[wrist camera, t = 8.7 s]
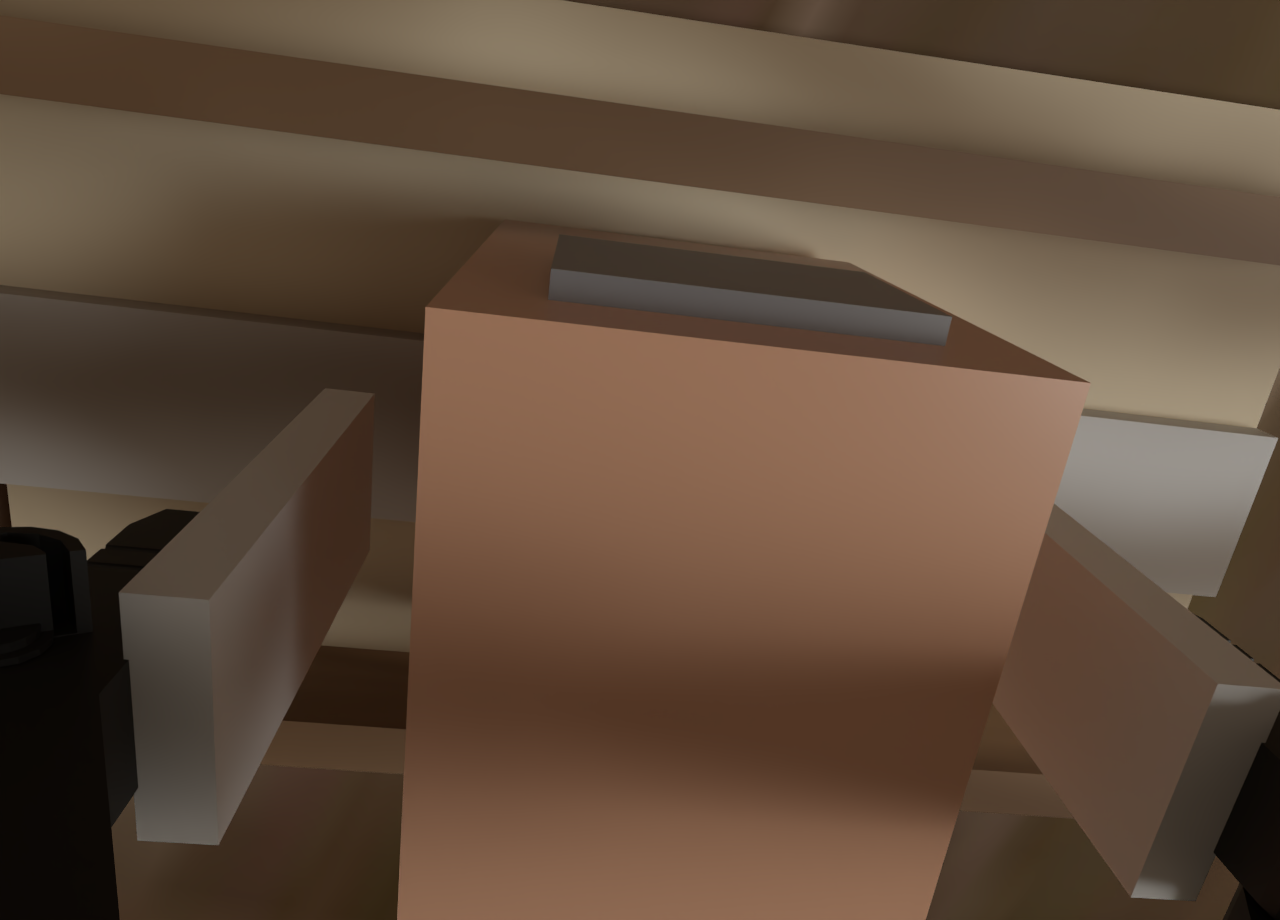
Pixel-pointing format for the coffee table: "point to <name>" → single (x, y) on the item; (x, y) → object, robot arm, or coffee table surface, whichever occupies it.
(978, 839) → the coffee table surface
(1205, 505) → the rail mount
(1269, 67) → the coffee table surface
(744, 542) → the block
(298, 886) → the coffee table surface
